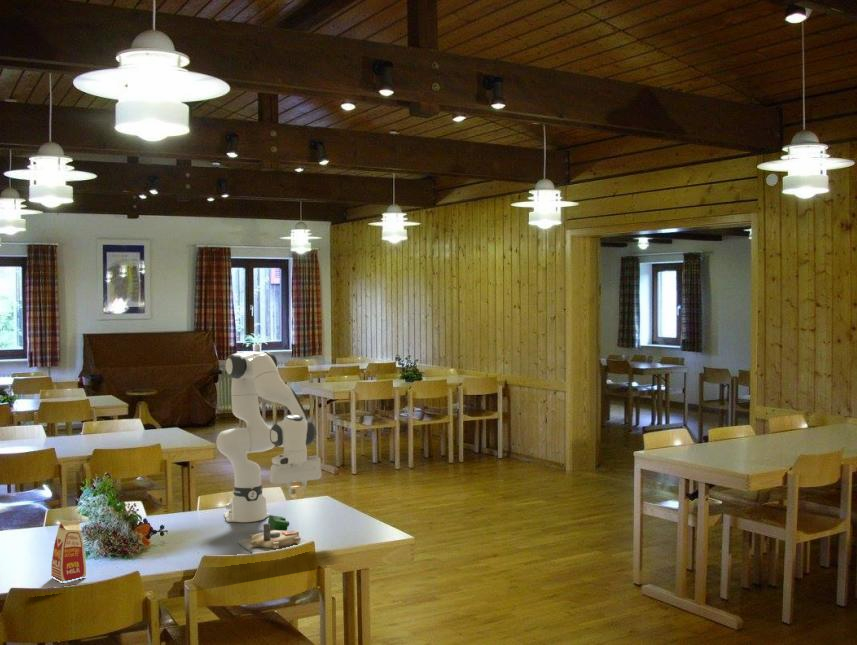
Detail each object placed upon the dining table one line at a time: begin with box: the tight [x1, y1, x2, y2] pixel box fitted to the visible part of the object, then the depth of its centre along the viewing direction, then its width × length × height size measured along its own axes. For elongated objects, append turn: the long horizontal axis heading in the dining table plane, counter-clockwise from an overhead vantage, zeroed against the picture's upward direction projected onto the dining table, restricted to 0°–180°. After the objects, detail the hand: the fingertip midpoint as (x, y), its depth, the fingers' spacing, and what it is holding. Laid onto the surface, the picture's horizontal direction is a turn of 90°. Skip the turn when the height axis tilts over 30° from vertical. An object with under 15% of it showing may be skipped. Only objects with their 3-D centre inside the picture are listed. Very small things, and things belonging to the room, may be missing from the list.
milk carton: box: [50, 519, 87, 582], centre depth 284 cm, size 9×9×20 cm
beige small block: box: [289, 485, 304, 500], centre depth 329 cm, size 6×3×4 cm, turn 31°
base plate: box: [236, 536, 308, 553], centre depth 321 cm, size 22×22×1 cm
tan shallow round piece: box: [248, 522, 301, 548], centre depth 321 cm, size 20×19×8 cm
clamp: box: [267, 514, 290, 531], centre depth 341 cm, size 12×6×9 cm, turn 17°
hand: (296, 493), depth 329 cm, fingers closed on beige small block, 3 cm apart
